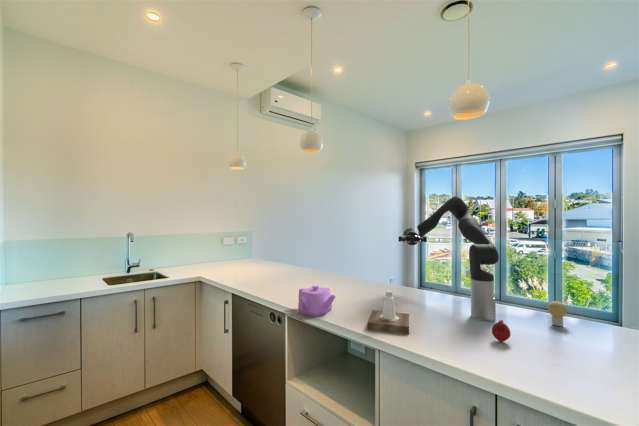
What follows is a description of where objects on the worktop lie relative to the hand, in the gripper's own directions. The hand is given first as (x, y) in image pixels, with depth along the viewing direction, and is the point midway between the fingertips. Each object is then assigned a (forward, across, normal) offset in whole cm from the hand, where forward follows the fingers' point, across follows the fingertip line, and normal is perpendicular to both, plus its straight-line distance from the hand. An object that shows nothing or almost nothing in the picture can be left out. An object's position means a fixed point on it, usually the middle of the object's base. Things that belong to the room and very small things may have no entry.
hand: (412, 240), depth 147 cm
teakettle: (+23, +45, -34) cm, 61 cm away
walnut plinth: (+30, +10, -34) cm, 46 cm away
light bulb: (+9, -58, -34) cm, 68 cm away
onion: (+35, -30, -34) cm, 57 cm away
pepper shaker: (+30, +10, -31) cm, 44 cm away
